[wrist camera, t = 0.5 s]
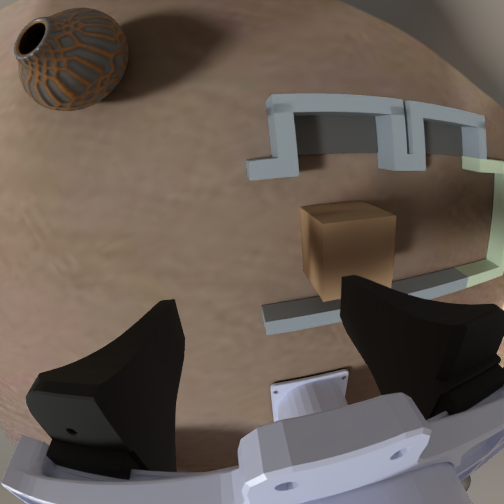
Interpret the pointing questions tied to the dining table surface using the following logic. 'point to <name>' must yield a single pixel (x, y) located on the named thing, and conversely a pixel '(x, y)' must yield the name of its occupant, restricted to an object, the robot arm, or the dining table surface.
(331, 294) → the walnut block
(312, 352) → the dining table surface
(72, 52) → the vase
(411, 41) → the dining table surface
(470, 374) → the robot arm
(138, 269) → the dining table surface
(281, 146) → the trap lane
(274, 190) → the dining table surface
